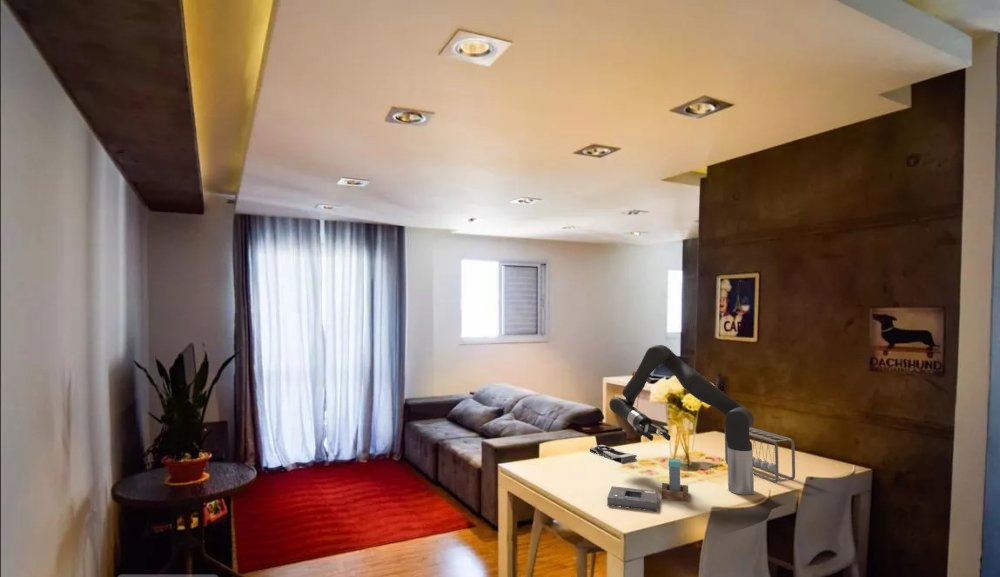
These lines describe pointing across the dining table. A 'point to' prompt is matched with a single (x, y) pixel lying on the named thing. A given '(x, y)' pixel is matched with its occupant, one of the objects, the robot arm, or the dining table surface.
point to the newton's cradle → (764, 464)
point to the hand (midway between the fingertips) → (661, 438)
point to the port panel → (633, 498)
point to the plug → (674, 474)
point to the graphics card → (613, 454)
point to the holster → (674, 493)
